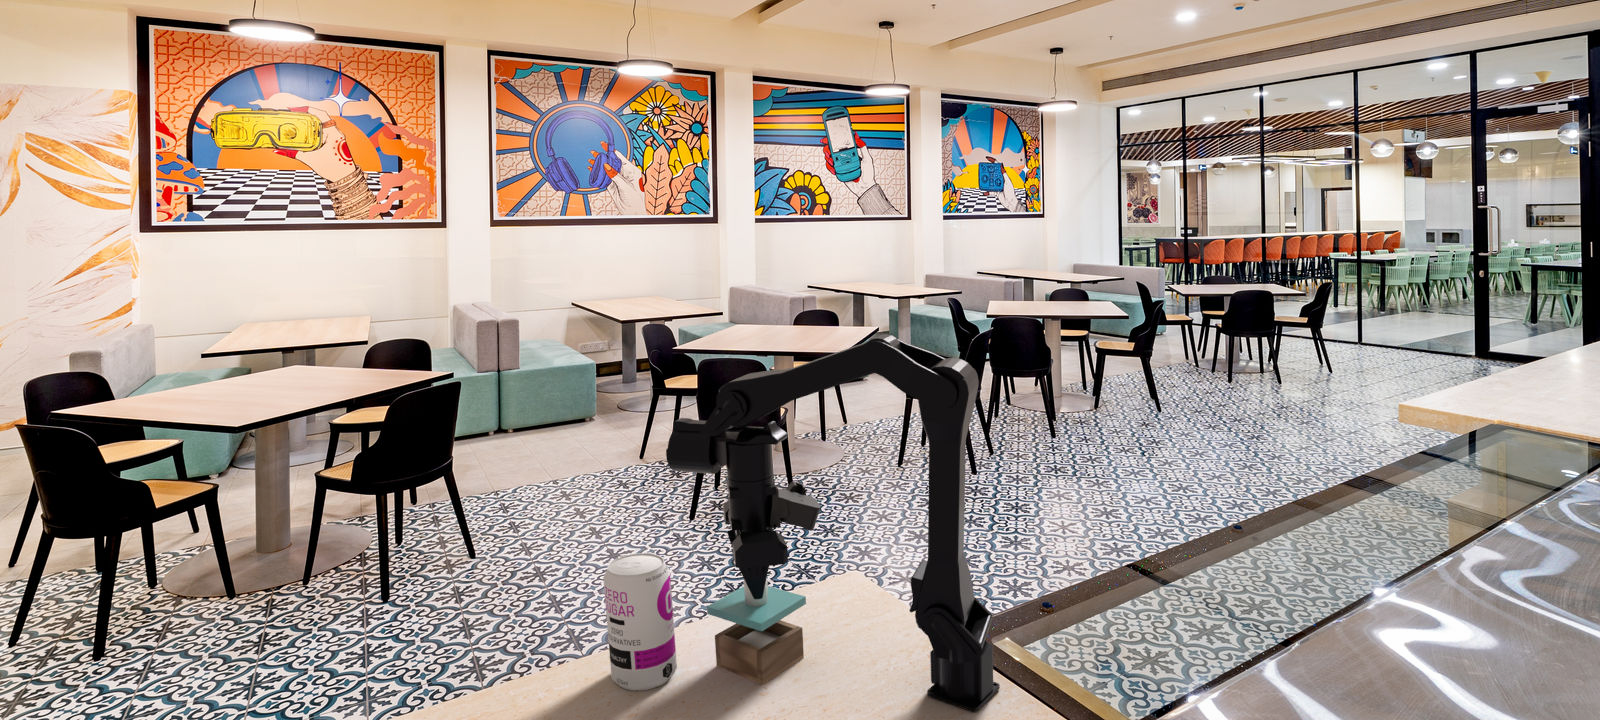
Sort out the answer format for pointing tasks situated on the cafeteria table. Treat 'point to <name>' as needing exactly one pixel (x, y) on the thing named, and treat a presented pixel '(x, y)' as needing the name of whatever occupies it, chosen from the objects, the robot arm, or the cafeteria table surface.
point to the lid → (756, 607)
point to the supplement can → (640, 621)
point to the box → (759, 650)
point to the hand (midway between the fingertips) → (756, 593)
